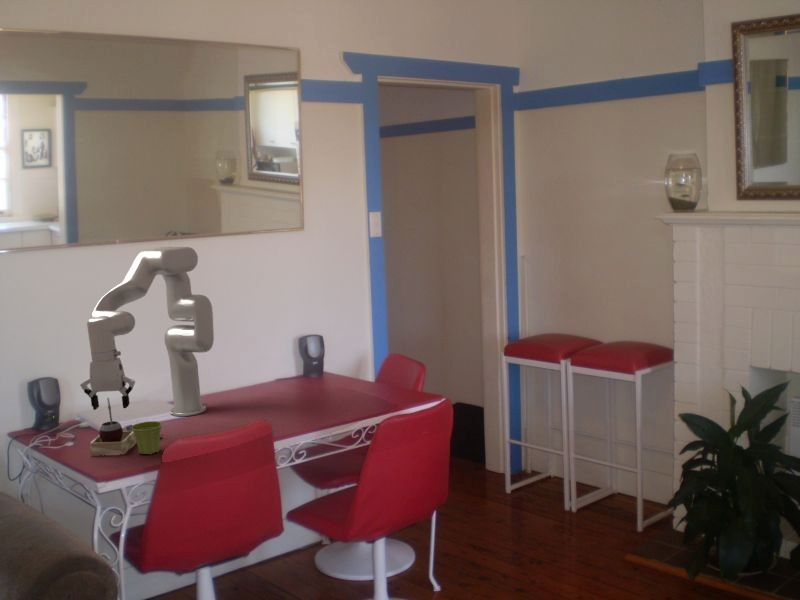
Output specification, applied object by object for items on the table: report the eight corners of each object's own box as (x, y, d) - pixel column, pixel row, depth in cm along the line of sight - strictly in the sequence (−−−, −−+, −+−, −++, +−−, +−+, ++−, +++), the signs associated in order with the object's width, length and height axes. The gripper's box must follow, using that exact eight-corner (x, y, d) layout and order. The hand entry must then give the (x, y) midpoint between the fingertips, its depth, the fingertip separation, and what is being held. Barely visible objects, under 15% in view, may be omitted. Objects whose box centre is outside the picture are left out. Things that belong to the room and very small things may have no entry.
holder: (104, 443, 306) (103, 431, 306) (136, 442, 306) (135, 430, 305) (90, 455, 295) (89, 443, 294) (124, 454, 294) (122, 442, 293)
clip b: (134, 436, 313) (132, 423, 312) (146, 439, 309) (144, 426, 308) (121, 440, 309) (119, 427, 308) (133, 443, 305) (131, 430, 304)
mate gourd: (111, 452, 295) (106, 406, 293) (94, 449, 299) (89, 403, 297) (129, 445, 301) (125, 400, 299) (113, 442, 306) (108, 397, 303)
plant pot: (137, 448, 300) (134, 422, 298) (167, 446, 300) (164, 420, 299) (131, 458, 291) (128, 431, 289) (161, 455, 291) (159, 428, 290)
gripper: (135, 351, 298) (141, 402, 302) (81, 354, 299) (89, 405, 303) (127, 357, 291) (133, 410, 294) (72, 360, 292) (80, 412, 296)
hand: (111, 407), depth 299 cm, fingers open, 9 cm apart
